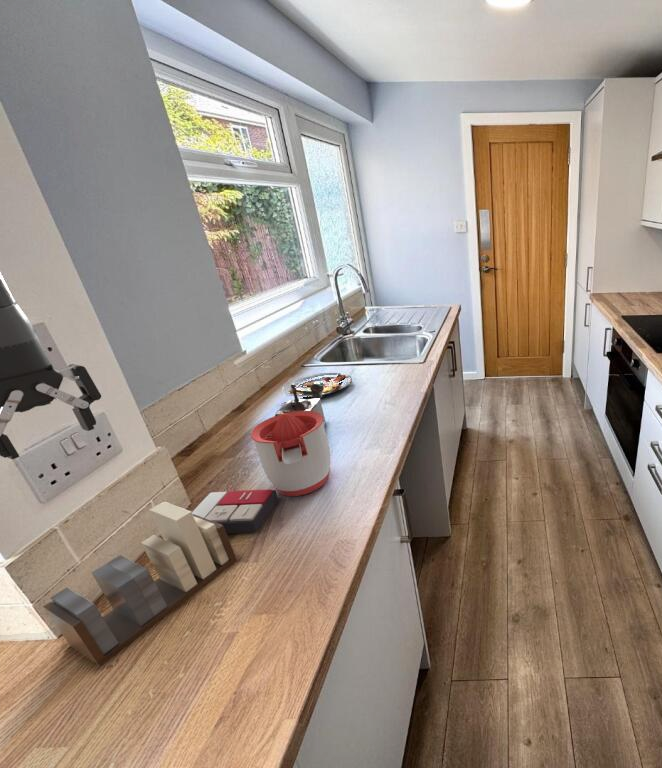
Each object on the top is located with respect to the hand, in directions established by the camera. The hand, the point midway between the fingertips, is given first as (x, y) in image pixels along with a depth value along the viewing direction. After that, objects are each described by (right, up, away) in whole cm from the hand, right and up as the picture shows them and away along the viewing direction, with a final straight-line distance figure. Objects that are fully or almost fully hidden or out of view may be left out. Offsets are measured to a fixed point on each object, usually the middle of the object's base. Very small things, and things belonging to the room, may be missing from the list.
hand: (53, 442), depth 62 cm
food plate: (-6, +7, +98) cm, 99 cm away
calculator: (+7, -22, +30) cm, 38 cm away
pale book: (+9, -27, +16) cm, 32 cm away
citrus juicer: (+17, -17, +41) cm, 48 cm away
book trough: (+7, -30, +11) cm, 33 cm away
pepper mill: (+7, -7, +66) cm, 67 cm away
